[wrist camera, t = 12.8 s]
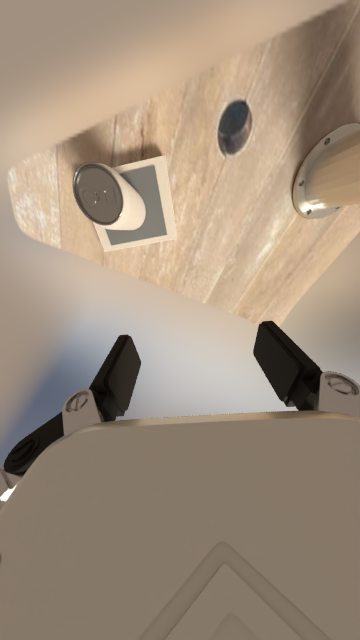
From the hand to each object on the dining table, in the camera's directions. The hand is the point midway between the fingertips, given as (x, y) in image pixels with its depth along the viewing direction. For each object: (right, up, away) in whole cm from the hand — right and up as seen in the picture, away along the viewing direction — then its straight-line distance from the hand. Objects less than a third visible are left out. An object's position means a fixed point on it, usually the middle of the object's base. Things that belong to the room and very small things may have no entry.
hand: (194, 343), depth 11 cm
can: (-11, +23, +16) cm, 30 cm away
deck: (-11, +24, +19) cm, 32 cm away
